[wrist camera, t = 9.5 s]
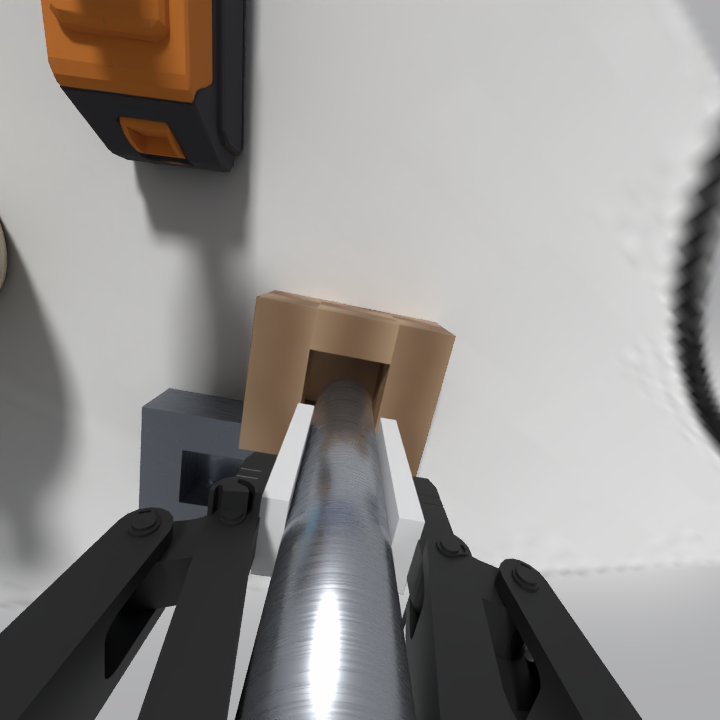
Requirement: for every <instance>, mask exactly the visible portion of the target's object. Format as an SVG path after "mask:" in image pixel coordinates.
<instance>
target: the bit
mask: <svg viewBox="0 0 720 720" xmlns="http://www.w3.org/2000/svg"><path fill="white" fill-rule="evenodd" d="M235 720H416V715H415V708H414V701H413V694H412V687H411V680H410V673H409V666H408V659H407V652H406V645H405V638H404V631H403V624H402V617H401V609H400V603H399V596H398V588H397V581H396V574H395V567H394V560H393V553H392V546H391V539H390V532H389V525H388V518H387V511H386V504H385V497H384V490H383V483H382V476H381V469H380V462H379V455H378V447H377V440H376V433H375V426H374V419H373V412H372V405H371V398H370V395H369V393H368V391H367V389H366V388H365V387H364V386H363V385H362V384H360V383H359V382H357V381H355V380H352V379H347V378H340V379H336V380H333V381H331V382H329V383H327V384H326V385H325V386H324V387H323V388H322V389H321V391H320V393H319V395H318V398H317V402H316V406H315V410H314V414H313V418H312V422H311V427H310V431H309V435H308V439H307V443H306V447H305V451H304V455H303V459H302V463H301V467H300V470H299V474H298V478H297V482H296V486H295V490H294V494H293V498H292V502H291V506H290V510H289V514H288V518H287V521H286V525H285V529H284V532H283V535H282V538H281V542H280V546H279V550H278V554H277V558H276V562H275V565H274V569H273V573H272V577H271V581H270V585H269V589H268V593H267V596H266V600H265V604H264V608H263V612H262V616H261V620H260V624H259V628H258V632H257V635H256V639H255V643H254V647H253V651H252V655H251V659H250V662H249V666H248V670H247V674H246V678H245V682H244V686H243V690H242V694H241V697H240V701H239V705H238V710H237V713H236V717H235Z"/></svg>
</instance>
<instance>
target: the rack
mask: <svg viewBox="0 0 720 720" xmlns="http://www.w3.org/2000/svg"><path fill="white" fill-rule="evenodd" d="M455 337H456V336H455V335H453V334H452V333H450V332H449V331H447V330H446V329H444V328H443V327H441V326H440V325H438V324H437V323H435V322H430V321H425V320H420V319H415V318H410V317H405V316H400V315H395V314H390V313H386V312H381V311H376V310H371V309H366V308H361V307H356V306H351V305H346V304H341V303H336V302H331V301H326V300H321V299H316V298H311V297H306V296H301V295H296V294H291V293H286V292H281V291H276V290H275V291H272V292H269V293H266V294H263V295H260V296H257V297H256V305H255V314H254V322H253V331H252V339H251V347H250V356H249V364H248V373H247V381H246V389H245V398H244V406H243V415H242V423H241V432H240V440H239V448H238V449H244V450H251V451H257V452H263V453H269V454H275V455H278V454H279V451H280V449H281V446H282V444H283V441H284V439H285V436H286V433H287V431H288V428H289V426H290V423H291V421H292V418H293V415H294V413H295V410H296V408H297V405H298V403H301V404H307V405H312V406H314V410H315V406H316V402H317V398H318V395H319V393H320V391H321V389H322V388H323V387H324V386H325V385H326V384H327V383H329V382H331V381H333V380H336V379H340V378H347V379H352V380H355V381H357V382H359V383H360V384H362V385H363V386H364V387H365V388H366V389H367V391H368V393H369V395H370V398H371V405H372V412H373V419H374V426H375V433H376V434H377V430H378V426H379V421H380V418H386V419H392V420H396V422H397V426H398V429H399V433H400V436H401V440H402V443H403V447H404V450H405V454H406V457H407V461H408V464H409V468H410V471H411V475H412V476H414V477H416V474H417V471H418V467H419V464H420V460H421V457H422V453H423V450H424V446H425V443H426V439H427V436H428V432H429V429H430V425H431V421H432V418H433V414H434V411H435V407H436V404H437V400H438V397H439V393H440V390H441V386H442V383H443V379H444V376H445V372H446V369H447V365H448V362H449V358H450V355H451V351H452V348H453V344H454V341H455ZM313 414H314V411H313ZM312 418H313V417H312Z"/></svg>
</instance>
